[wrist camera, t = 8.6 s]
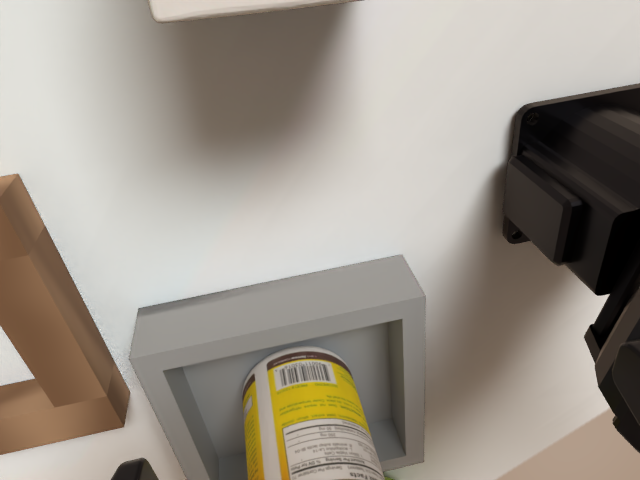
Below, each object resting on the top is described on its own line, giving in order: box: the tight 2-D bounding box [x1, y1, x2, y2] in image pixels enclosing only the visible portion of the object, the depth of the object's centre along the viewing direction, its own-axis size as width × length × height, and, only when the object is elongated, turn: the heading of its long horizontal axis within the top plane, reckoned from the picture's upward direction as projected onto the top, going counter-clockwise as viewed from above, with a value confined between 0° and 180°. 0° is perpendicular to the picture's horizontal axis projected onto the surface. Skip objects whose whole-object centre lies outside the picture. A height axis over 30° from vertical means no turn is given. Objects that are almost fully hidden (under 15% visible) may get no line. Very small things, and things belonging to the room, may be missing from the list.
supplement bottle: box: [242, 346, 385, 480], centre depth 21 cm, size 6×6×10 cm
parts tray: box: [129, 255, 426, 480], centre depth 24 cm, size 12×12×3 cm
